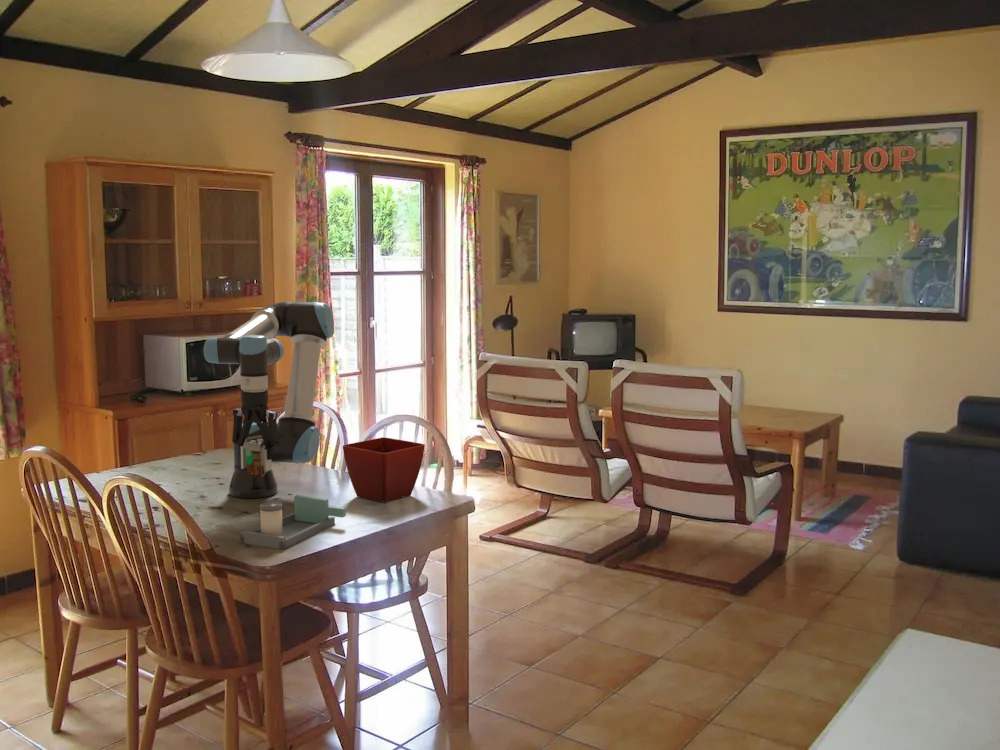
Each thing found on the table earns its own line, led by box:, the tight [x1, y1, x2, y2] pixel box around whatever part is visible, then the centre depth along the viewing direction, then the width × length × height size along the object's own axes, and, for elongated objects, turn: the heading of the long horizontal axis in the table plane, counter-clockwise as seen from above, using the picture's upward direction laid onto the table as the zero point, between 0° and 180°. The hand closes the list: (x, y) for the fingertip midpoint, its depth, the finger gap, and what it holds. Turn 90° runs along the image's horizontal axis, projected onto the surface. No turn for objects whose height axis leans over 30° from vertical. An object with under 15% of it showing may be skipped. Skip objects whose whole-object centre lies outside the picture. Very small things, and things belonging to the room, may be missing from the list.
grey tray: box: [239, 511, 336, 550], centre depth 259 cm, size 14×25×4 cm, turn 158°
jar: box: [259, 501, 283, 536], centre depth 251 cm, size 6×6×10 cm
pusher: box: [293, 494, 347, 523], centre depth 268 cm, size 16×2×7 cm, turn 68°
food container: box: [243, 435, 267, 478], centre depth 270 cm, size 12×6×10 cm, turn 1°
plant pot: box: [342, 436, 426, 503], centre depth 301 cm, size 19×19×17 cm
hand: (256, 468), depth 271 cm, fingers closed on food container, 7 cm apart
